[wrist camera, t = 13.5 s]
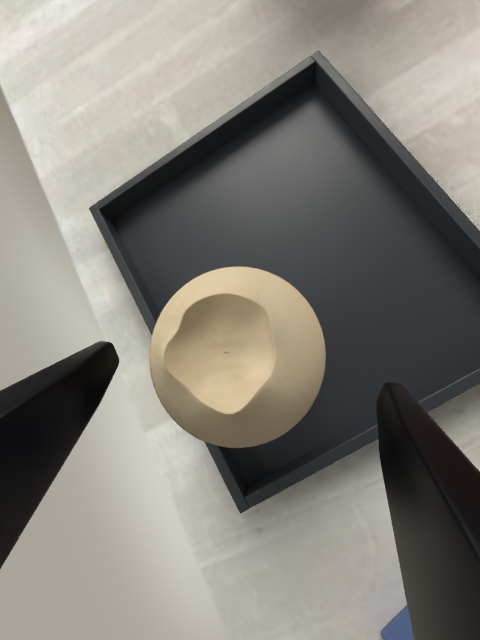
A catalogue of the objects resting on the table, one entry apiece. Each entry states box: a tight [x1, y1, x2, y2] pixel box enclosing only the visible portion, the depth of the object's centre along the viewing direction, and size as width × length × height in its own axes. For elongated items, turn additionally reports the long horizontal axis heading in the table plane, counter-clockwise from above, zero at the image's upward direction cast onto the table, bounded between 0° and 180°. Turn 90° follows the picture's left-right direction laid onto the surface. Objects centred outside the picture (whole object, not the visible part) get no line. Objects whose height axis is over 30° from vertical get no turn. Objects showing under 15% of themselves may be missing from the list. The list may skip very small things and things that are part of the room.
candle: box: [150, 267, 326, 448], centre depth 12 cm, size 6×6×10 cm
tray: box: [89, 51, 480, 513], centre depth 17 cm, size 18×21×2 cm
